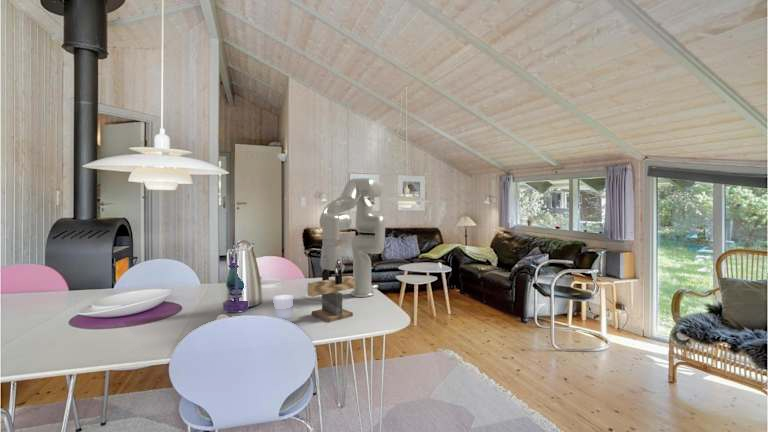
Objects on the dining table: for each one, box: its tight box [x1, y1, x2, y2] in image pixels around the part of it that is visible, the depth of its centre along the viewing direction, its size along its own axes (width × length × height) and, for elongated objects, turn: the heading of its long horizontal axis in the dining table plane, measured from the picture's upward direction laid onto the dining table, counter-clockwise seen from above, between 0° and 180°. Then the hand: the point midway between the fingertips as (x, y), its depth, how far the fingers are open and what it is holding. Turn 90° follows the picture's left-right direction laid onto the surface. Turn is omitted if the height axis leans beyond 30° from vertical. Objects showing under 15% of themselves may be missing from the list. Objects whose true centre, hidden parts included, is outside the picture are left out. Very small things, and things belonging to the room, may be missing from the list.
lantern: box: [222, 244, 249, 313], centre depth 174 cm, size 13×12×30 cm
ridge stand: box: [311, 291, 354, 323], centre depth 166 cm, size 12×14×10 cm
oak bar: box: [307, 275, 354, 298], centre depth 166 cm, size 22×4×5 cm, turn 133°
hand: (332, 282), depth 166 cm, fingers open, 9 cm apart
